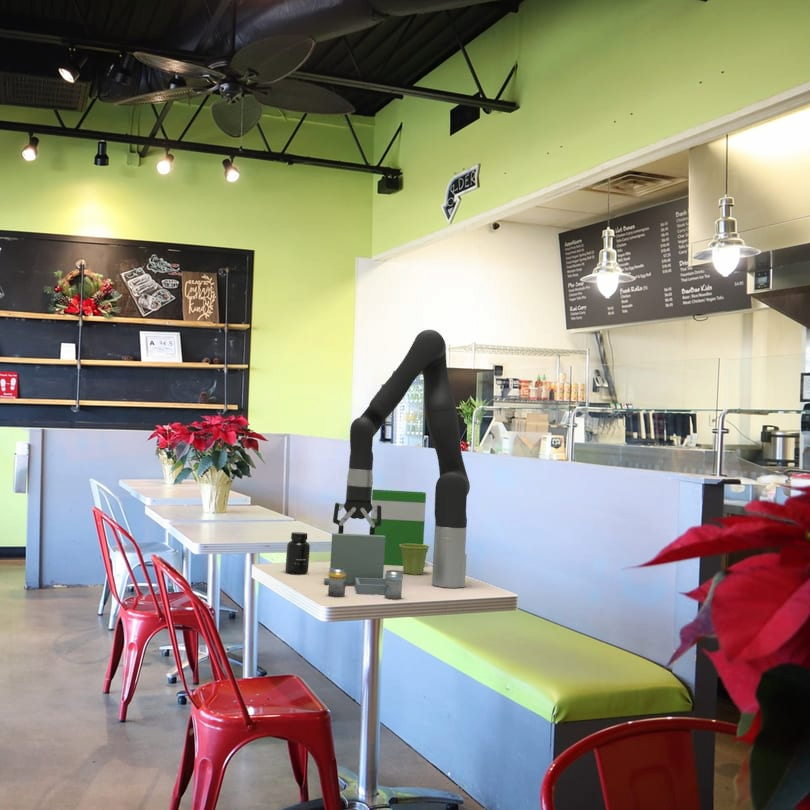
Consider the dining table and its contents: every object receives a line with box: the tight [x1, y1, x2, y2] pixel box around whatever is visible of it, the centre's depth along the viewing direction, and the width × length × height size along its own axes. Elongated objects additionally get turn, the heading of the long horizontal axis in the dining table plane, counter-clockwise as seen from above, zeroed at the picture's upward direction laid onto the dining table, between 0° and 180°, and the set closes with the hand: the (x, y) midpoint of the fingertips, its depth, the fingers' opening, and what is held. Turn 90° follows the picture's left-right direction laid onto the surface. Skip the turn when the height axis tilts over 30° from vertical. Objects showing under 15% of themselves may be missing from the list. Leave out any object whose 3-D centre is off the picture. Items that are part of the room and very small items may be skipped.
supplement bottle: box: [285, 531, 311, 575], centre depth 276 cm, size 7×7×12 cm
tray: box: [354, 578, 386, 596], centre depth 253 cm, size 11×11×2 cm
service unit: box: [323, 532, 385, 587], centre depth 261 cm, size 18×5×14 cm, turn 96°
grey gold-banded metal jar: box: [327, 567, 346, 598], centre depth 243 cm, size 5×5×7 cm
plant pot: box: [399, 544, 430, 575], centre depth 287 cm, size 9×9×9 cm
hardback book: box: [369, 488, 427, 567], centre depth 305 cm, size 18×7×24 cm, turn 91°
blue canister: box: [384, 569, 404, 601], centre depth 244 cm, size 5×5×7 cm
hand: (355, 539), depth 272 cm, fingers open, 8 cm apart
